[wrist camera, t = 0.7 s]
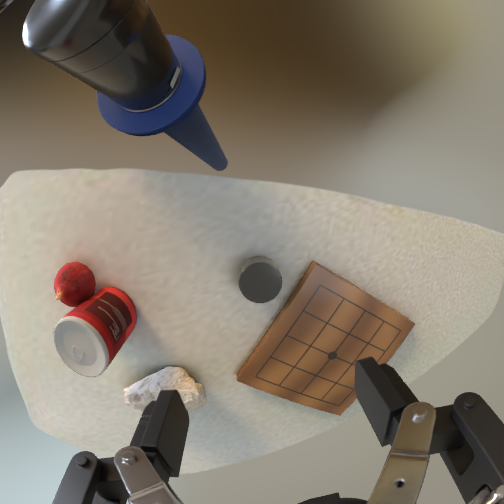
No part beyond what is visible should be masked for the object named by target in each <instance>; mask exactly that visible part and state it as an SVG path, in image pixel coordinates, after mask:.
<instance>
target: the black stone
mask: <svg viewBox="0 0 504 504" xmlns="http://www.w3.org/2000/svg"><path fill="white" fill-rule="evenodd" d="M281 287H282V277H281V274H280V272H279V270H278V268H277V266H276V264H275V263H274V262H273V261H272V260H271V259H269V258H267V257H263V256H256V257H252V258H250V259H248V260H247V261H246V262H245V263H244V264H243V265H242V267H241V269H240V272H239V288H240V291H241V293H242V294H243V295H244V297H245V298H247V299H248V300H250V301H252V302H256V303H264V302H268V301H270V300H272V299H274V298H275V297H276V296H277V295H278V293H279V292H280V290H281Z"/></svg>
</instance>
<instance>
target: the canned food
mask: <svg viewBox="0 0 504 504" xmlns="http://www.w3.org/2000/svg"><path fill="white" fill-rule="evenodd" d="M136 317H137V315H136V309H135V306H134V304H133V302H132V300H131V299H130V297H129V296H128V295H127V294H126V293H124V292H123V291H121V290H119V289H117V288H114V287H106V288H102V289H99V290H98V291H96V292H95V293H94V295H92V296H91V297H90V298H88V299H87V300H85V301H83V302H82V303H81V304H79V305H78V306H77V307H75V308H74V309H73V310H72V311H70V312H69V313H68V314H67V315H66V316H64V317H63V318H62V319H61V320H60V321H59V322H58V323H57V324H56V326H55V328H54V332H53V339H54V344H55V347H56V350H57V352H58V354H59V356H60V357H61V359H62V360H63V361H64V363H65V364H66V365H67V366H68V367H69V368H71V369H72V370H73V371H75V372H76V373H78V374H80V375H83V376H86V377H96V376H99V375H101V374H102V373H103V372H104V371H105V370H106V369H107V367H108V366H109V364H110V363H111V362H112V360H113V359H114V357H115V356H116V354H117V353H118V351H119V350H120V348H121V347H122V345H123V344H124V343H125V341H126V340H127V338H128V337H129V335H130V334H131V333H132V331H133V329H134V328H135V324H136Z"/></svg>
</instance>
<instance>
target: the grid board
mask: <svg viewBox="0 0 504 504" xmlns="http://www.w3.org/2000/svg"><path fill="white" fill-rule="evenodd" d="M414 325H415V323H413V322H412V321H411V320H410V319H408V318H406V317H405V316H403V315H402V314H400V313H398V312H397V311H395V310H394V309H392V308H390V307H389V306H387V305H386V304H384V303H382V302H381V301H379V300H377V299H376V298H374V297H373V296H371V295H369V294H368V293H366V292H364V291H363V290H361V289H359V288H358V287H356V286H354V285H353V284H351V283H350V282H348V281H346V280H345V279H343V278H341V277H340V276H338V275H336V274H335V273H333V272H331V271H330V270H328V269H326V268H324V267H323V266H321V265H319V264H318V263H316V262H314V261H313V262H312V264H311V265H310V267H309V269H308V270H307V272H306V273H305V275H304V277H303V278H302V280H301V281H300V283H299V284H298V286H297V287H296V289H295V291H294V292H293V294H292V295H291V297H290V298H289V300H288V301H287V303H286V304H285V306H284V307H283V309H282V310H281V312H280V313H279V315H278V316H277V318H276V319H275V321H274V322H273V324H272V325H271V327H270V328H269V330H268V331H267V333H266V334H265V335H264V337H263V338H262V340H261V341H260V343H259V344H258V345H257V347H256V348H255V350H254V351H253V353H252V354H251V355H250V357H249V358H248V360H247V361H246V362H245V364H244V365H243V367H242V368H241V369H240V371H239V372H238V373H237V381H239V382H242V383H244V384H247V385H249V386H252V387H254V388H257V389H259V390H262V391H265V392H267V393H270V394H273V395H276V396H278V397H281V398H284V399H287V400H290V401H293V402H296V403H299V404H302V405H305V406H309V407H312V408H315V409H318V410H322V411H325V412H329V413H332V414H336V415H341V414H342V413H343V412H344V411H345V410H346V409H347V408H348V407H349V406H350V405H351V404H352V403H353V401H354V400H355V399H356V398H357V396H356V393H355V386H354V384H355V362H356V360H360V359H363V358H367V357H370V356H372V357H373V358H374V359H375V360H376V362H377V363H378V364H379V365H380V364H383V363H385V364H386V363H387V362H388V361H389V359H390V358H391V357H392V356H393V354H394V353H395V352H396V350H397V349H398V348H399V346H400V345H401V344H402V342H403V341H404V339H405V338H406V337H407V335H408V334H409V332H410V331H411V329H412V328H413V327H414Z"/></svg>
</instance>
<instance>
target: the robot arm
mask: <svg viewBox="0 0 504 504" xmlns="http://www.w3.org/2000/svg"><path fill="white" fill-rule="evenodd" d="M12 1H13V0H0V13H1V12H2V11H3V10H4V9H5V7H7V6H8V5H9V4H10V3H11V2H12ZM22 35H23V42H24V45H25V46H26V48H27V49H28V50H29V51H30V52H32V53H33V54H35V55H37V56H39V57H40V58H42V59H44V60H46V61H48V62H50V63H51V64H53V65H55V66H57V67H58V68H60V69H62V70H64V71H66V72H67V73H69V74H71V75H72V76H74V77H76V78H78V79H79V80H81V81H82V82H84V83H86V84H87V85H89V86H90V87H92V88H94V89H95V90H97V91H99V92H100V93H102V94H103V95H105V96H106V97H108V98H110V99H111V100H112V101H114V102H116V103H117V104H118V105H119V106H121V107H122V108H124V109H125V110H127V111H130V112H135V113H143V112H148V111H151V110H154V109H156V108H158V107H160V106H162V105H163V104H165V103H166V102H167V101H168V100H169V99H170V98H171V97H172V96H173V95H174V94H175V92H176V91H177V89H178V88H179V86H180V83H181V80H182V66H181V63H180V61H179V59H178V58H177V56H176V55H175V53H174V51H173V49H172V47H171V45H170V43H169V41H168V39H167V37H166V36H165V34H164V32H163V30H162V28H161V26H160V24H159V22H158V20H157V19H156V17H155V15H154V13H153V11H152V9H151V7H150V5H149V3H148V2H147V0H36V1H35V3H34V4H33V6H32V8H31V10H30V11H29V13H28V15H27V18H26V20H25V23H24V26H23V34H22ZM354 386H355V393H356V396H357V398H358V400H359V402H360V404H361V406H362V408H363V410H364V412H365V414H366V416H367V418H368V420H369V422H370V424H371V426H372V428H373V430H374V432H375V434H376V436H377V438H378V440H379V442H380V444H381V446H382V447H383V446H386V445H388V444H390V445H391V450H390V452H389V455H388V457H387V459H386V462H385V464H384V467H383V469H382V472H381V474H380V476H379V479H378V481H377V483H376V485H375V487H374V490H373V492H372V494H371V496H370V498H369V500H368V501H366V500H362V499H356V498H340V497H339V493H334V494H330V495H326V496H321V497H317V498H312V499H309V500H306V501H304V502H301V503H298V504H416V502H417V499H418V496H419V493H420V490H421V487H422V484H423V480H424V477H425V474H426V470H427V466H428V463H429V458H430V454H435V453H440V455H441V457H442V459H443V461H444V462H445V464H446V466H447V468H448V470H449V472H450V474H451V475H452V477H453V479H454V481H455V483H456V485H457V487H458V489H459V491H460V493H461V495H462V497H463V499H464V501H465V503H466V504H504V424H503V422H502V421H501V420H500V419H499V418H498V416H497V415H496V414H495V413H494V412H493V410H492V409H491V408H490V407H489V406H488V405H487V403H486V402H485V401H484V400H483V399H482V397H481V396H480V395H478V394H476V393H472V392H467V393H463V394H461V395H459V396H458V397H457V398H456V399H455V401H454V404H453V405H448V406H443V407H437V408H434V407H433V406H432V405H430V404H429V403H426V402H419V401H418V399H417V398H416V397H415V395H414V394H413V393H412V391H411V390H410V389H409V387H408V386H407V385H406V384H405V382H403V380H402V378H401V377H400V376H399V375H398V373H397V372H396V371H395V370H394V368H392V367H391V366H389V365H387V364H385V363H383V364H380V365H379V364H378V363H377V362H376V360H375V359H374V358H373V357H372V356H370V357H367V358H363V359H360V360H356V362H355V384H354ZM188 427H189V415H188V412H187V409H186V407H185V405H184V403H183V400H182V398H181V396H180V394H179V392H178V390H176V389H175V390H161V391H160V392H159V395H158V397H157V400H156V401H151V402H150V403H149V404H148V405H147V406H146V407H145V409H144V411H143V414H142V417H141V418H140V421H139V424H138V426H137V428H136V431H135V433H134V436H133V438H132V441H131V443H130V446H128V447H124V448H122V449H121V450H119V451H118V452H117V453H116V455H115V457H111V458H102V459H98V458H97V457H96V456H95V455H94V454H93V453H91V452H88V451H83V452H80V453H77V454H76V455H75V456H74V457H73V458H72V460H71V462H70V464H69V466H68V468H67V470H66V472H65V475H64V477H63V479H62V481H61V484H60V486H59V488H58V491H57V493H56V496H55V498H54V500H53V503H52V504H126V502H127V499H128V501H129V504H183V502H182V501H181V500H180V498H179V497H178V496H177V494H176V493H175V492H174V490H173V489H172V488H171V486H170V485H169V483H168V481H169V477H178V476H179V471H180V466H181V461H182V456H183V451H184V446H185V441H186V437H187V432H188ZM95 493H96V494H95ZM94 496H95V497H94Z"/></svg>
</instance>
